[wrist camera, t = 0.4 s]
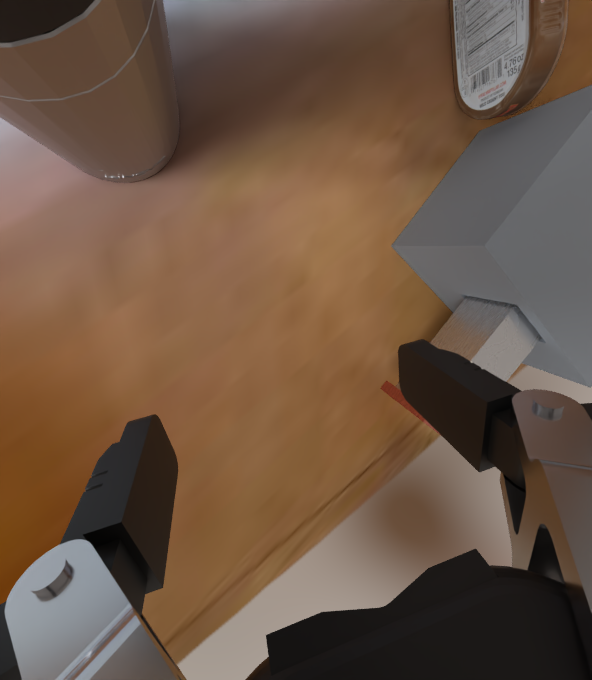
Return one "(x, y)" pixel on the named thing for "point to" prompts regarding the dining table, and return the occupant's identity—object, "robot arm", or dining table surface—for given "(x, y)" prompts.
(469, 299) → the plug
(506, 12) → the tin
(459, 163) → the socket block
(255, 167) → the dining table surface
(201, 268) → the dining table surface
